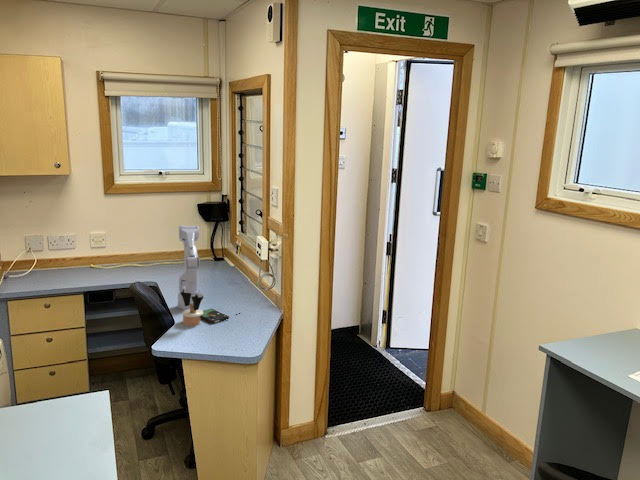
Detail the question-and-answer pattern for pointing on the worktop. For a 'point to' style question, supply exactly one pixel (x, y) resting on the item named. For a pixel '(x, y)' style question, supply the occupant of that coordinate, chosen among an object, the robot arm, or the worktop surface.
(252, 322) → the worktop surface
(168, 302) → the worktop surface
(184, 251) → the robot arm
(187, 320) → the bowl
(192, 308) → the lid
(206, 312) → the disk drive
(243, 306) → the worktop surface
